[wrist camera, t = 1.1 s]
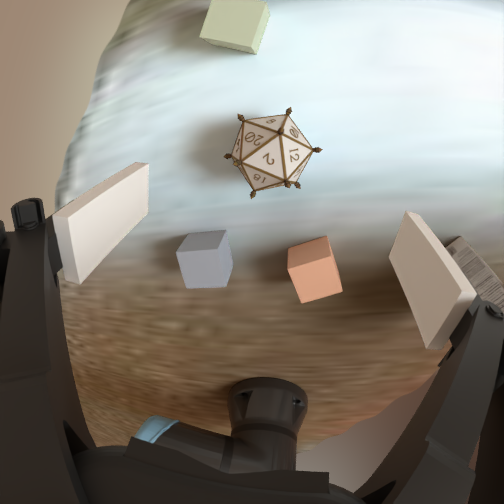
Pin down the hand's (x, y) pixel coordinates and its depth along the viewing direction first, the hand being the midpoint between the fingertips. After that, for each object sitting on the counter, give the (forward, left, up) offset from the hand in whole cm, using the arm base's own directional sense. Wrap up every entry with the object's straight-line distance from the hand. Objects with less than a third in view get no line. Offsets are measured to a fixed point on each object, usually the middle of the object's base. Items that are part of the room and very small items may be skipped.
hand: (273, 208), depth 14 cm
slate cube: (-14, +7, -20) cm, 25 cm away
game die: (0, +1, -20) cm, 20 cm away
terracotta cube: (-13, -6, -20) cm, 24 cm away
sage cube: (+13, +6, -20) cm, 24 cm away
